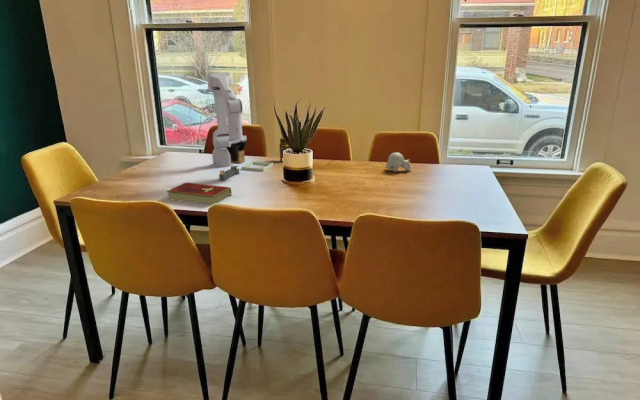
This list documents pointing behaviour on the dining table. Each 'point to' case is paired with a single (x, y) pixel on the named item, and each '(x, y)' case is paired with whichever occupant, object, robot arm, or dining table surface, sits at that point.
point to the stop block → (239, 158)
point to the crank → (229, 173)
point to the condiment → (282, 147)
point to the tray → (257, 168)
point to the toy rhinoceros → (398, 162)
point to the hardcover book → (199, 193)
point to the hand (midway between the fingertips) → (237, 159)
